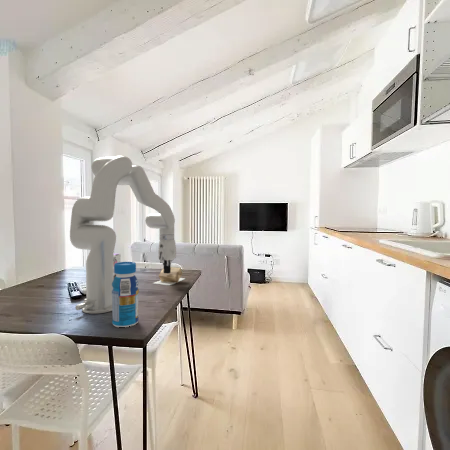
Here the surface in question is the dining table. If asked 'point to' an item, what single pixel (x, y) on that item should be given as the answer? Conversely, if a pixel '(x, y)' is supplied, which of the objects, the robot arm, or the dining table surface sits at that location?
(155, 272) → the dining table surface
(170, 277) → the oak slab
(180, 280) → the white rectangular board
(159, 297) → the dining table surface
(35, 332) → the dining table surface
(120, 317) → the beverage bottle
